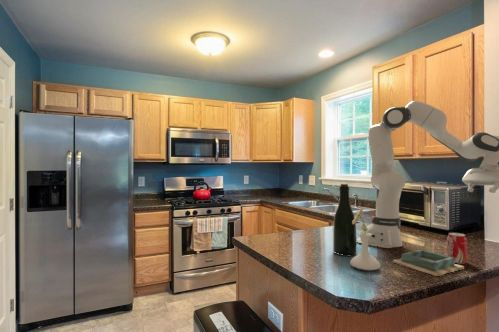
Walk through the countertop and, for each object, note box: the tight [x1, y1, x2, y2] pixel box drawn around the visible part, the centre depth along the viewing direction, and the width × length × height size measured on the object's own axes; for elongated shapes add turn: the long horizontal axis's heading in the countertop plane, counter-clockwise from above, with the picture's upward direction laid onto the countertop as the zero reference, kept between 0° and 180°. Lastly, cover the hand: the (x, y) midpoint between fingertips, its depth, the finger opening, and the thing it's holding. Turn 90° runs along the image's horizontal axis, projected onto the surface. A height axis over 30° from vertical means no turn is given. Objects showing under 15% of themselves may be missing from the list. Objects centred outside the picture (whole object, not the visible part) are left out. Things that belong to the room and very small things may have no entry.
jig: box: [392, 249, 465, 276], centre depth 117 cm, size 18×18×4 cm
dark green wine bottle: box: [332, 183, 358, 256], centre depth 136 cm, size 10×10×33 cm
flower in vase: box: [350, 206, 381, 271], centre depth 115 cm, size 13×11×25 cm
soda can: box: [446, 232, 469, 265], centre depth 122 cm, size 7×7×12 cm
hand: (480, 191), depth 129 cm, fingers open, 8 cm apart
